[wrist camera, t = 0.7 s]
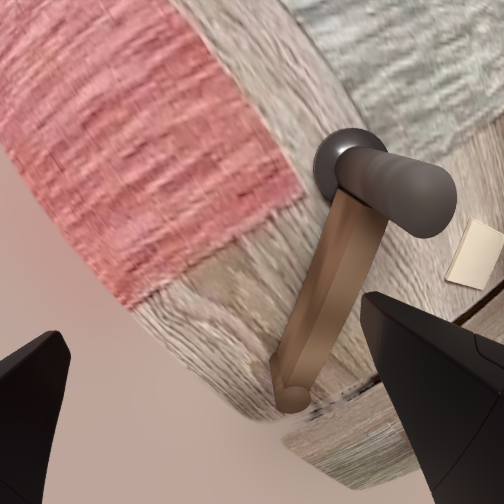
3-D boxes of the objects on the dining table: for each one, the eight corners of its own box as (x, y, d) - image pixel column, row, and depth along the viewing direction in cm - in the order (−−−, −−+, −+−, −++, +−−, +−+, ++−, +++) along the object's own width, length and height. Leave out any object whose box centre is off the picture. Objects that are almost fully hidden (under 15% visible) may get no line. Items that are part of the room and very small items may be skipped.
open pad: (504, 234, 22) (506, 236, 21) (480, 288, 24) (483, 290, 23) (470, 217, 21) (473, 218, 20) (444, 278, 23) (447, 280, 23)
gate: (343, 139, 17) (413, 153, 10) (384, 155, 18) (465, 180, 10) (262, 368, 24) (272, 452, 16) (297, 373, 24) (316, 453, 17)
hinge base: (396, 144, 19) (400, 145, 18) (372, 215, 20) (376, 217, 20) (326, 116, 18) (329, 116, 17) (302, 194, 20) (305, 196, 19)
